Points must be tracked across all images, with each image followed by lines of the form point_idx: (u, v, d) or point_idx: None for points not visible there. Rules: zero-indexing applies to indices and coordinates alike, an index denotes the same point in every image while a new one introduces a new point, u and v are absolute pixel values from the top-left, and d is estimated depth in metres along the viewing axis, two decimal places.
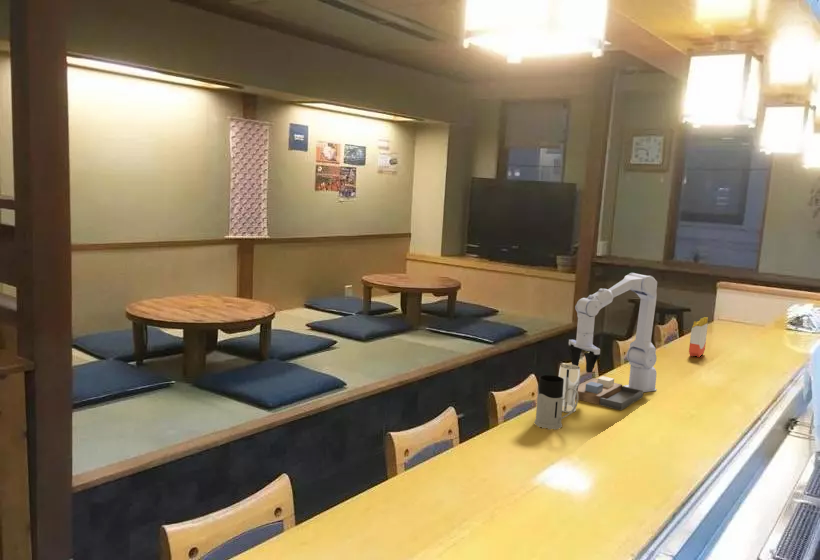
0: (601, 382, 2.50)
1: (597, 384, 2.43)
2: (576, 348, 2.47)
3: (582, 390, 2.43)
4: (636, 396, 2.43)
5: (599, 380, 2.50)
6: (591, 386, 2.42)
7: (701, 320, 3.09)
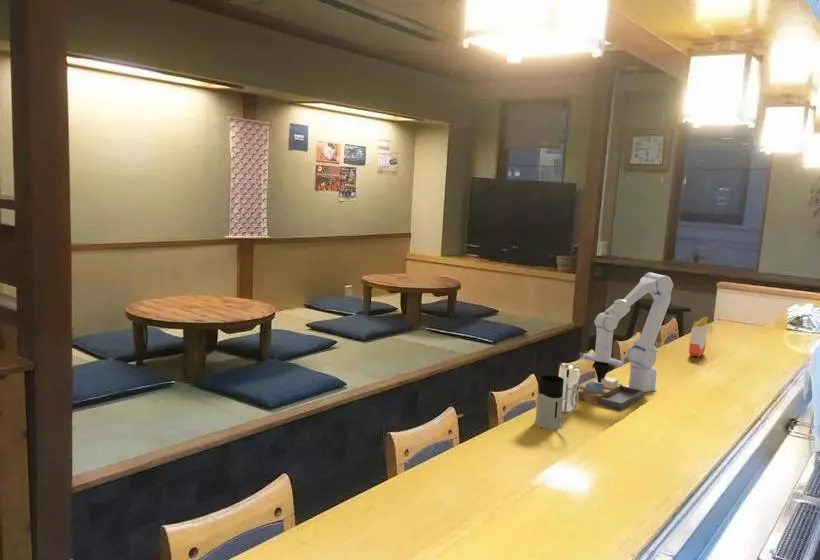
0: (605, 383, 2.49)
1: (597, 384, 2.43)
2: None
3: (582, 390, 2.43)
4: (636, 396, 2.43)
5: (603, 381, 2.49)
6: (591, 386, 2.42)
7: (701, 320, 3.09)
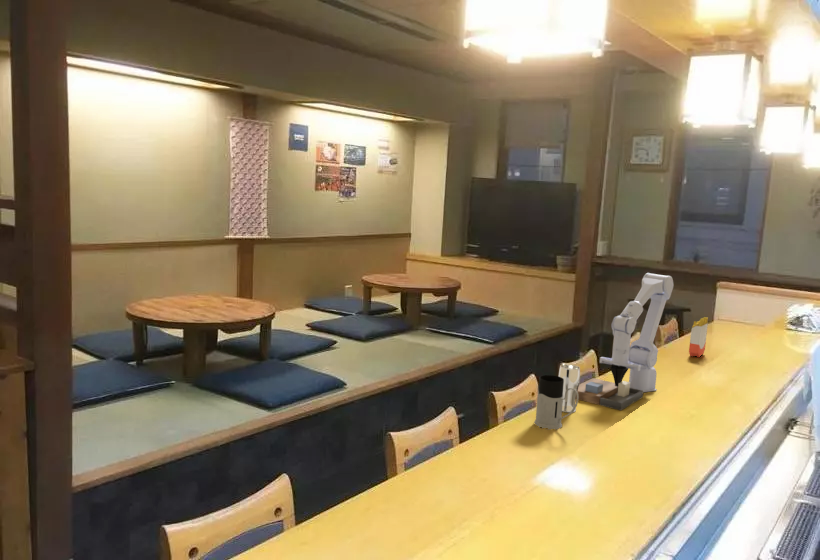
0: (621, 388, 2.45)
1: (597, 384, 2.43)
2: (618, 367, 2.47)
3: (582, 390, 2.43)
4: (636, 396, 2.43)
5: (623, 386, 2.44)
6: (591, 386, 2.42)
7: (701, 320, 3.09)
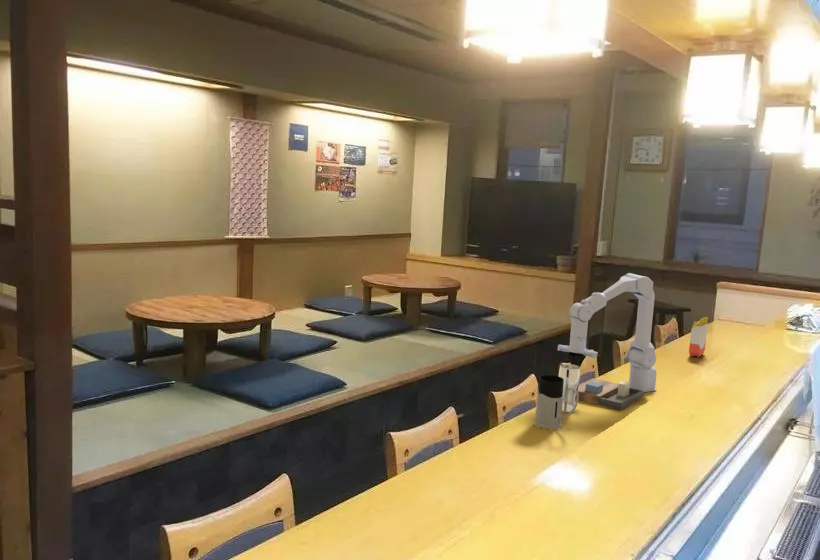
0: (621, 388, 2.45)
1: (597, 384, 2.43)
2: (576, 355, 2.47)
3: (582, 390, 2.43)
4: (636, 396, 2.43)
5: (623, 386, 2.44)
6: (591, 386, 2.42)
7: (701, 320, 3.09)
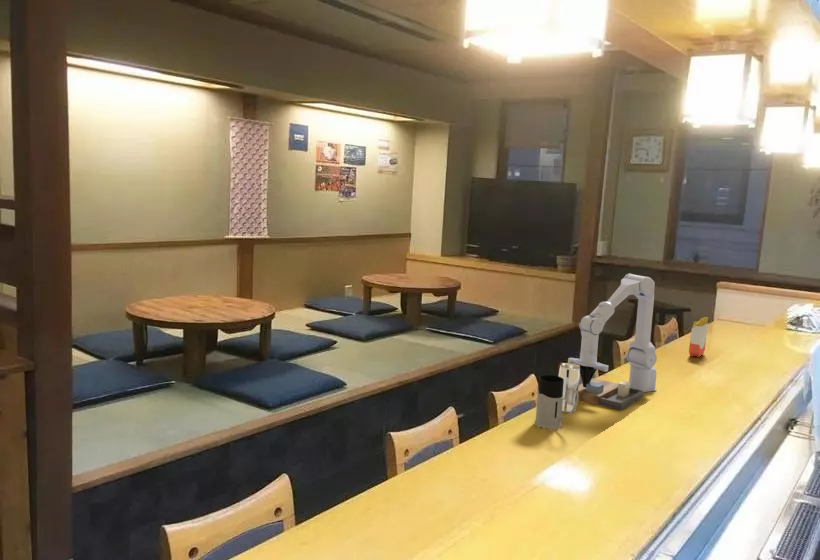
0: (621, 388, 2.45)
1: (598, 384, 2.43)
2: None
3: (582, 390, 2.43)
4: (636, 396, 2.43)
5: (623, 386, 2.44)
6: (592, 386, 2.41)
7: (701, 320, 3.09)
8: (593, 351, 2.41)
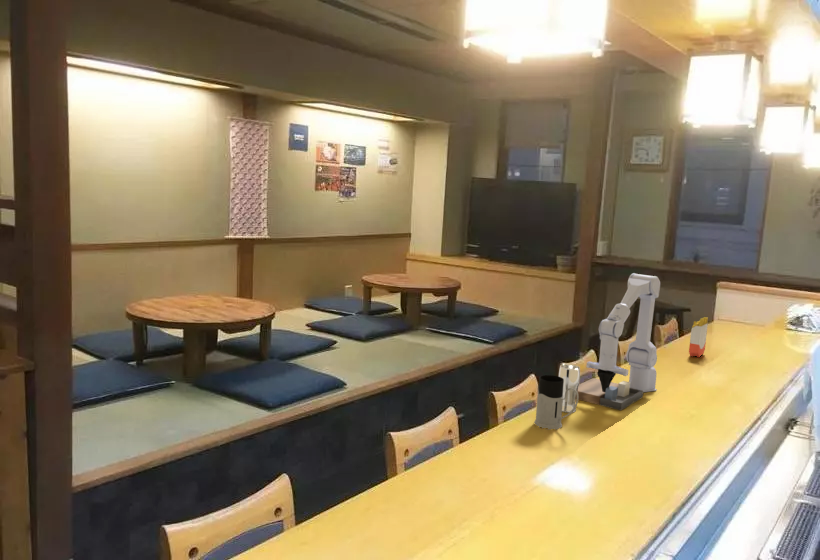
0: (621, 388, 2.45)
1: (614, 397, 2.39)
2: (606, 372, 2.40)
3: (582, 390, 2.43)
4: (636, 396, 2.43)
5: (623, 386, 2.44)
6: (610, 396, 2.37)
7: (701, 320, 3.09)
8: (613, 355, 2.36)
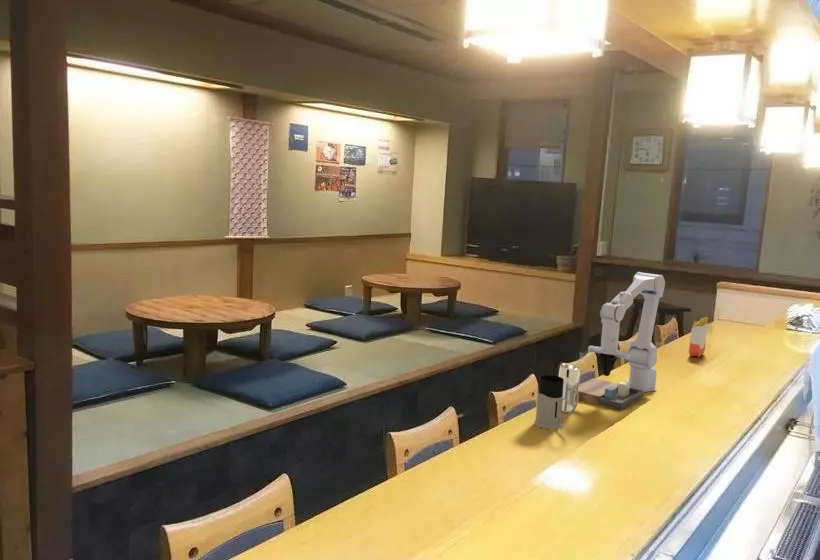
0: (621, 388, 2.45)
1: (614, 397, 2.39)
2: (607, 356, 2.40)
3: (582, 390, 2.43)
4: (636, 396, 2.43)
5: (623, 386, 2.44)
6: (610, 396, 2.37)
7: (701, 320, 3.09)
8: (614, 339, 2.37)
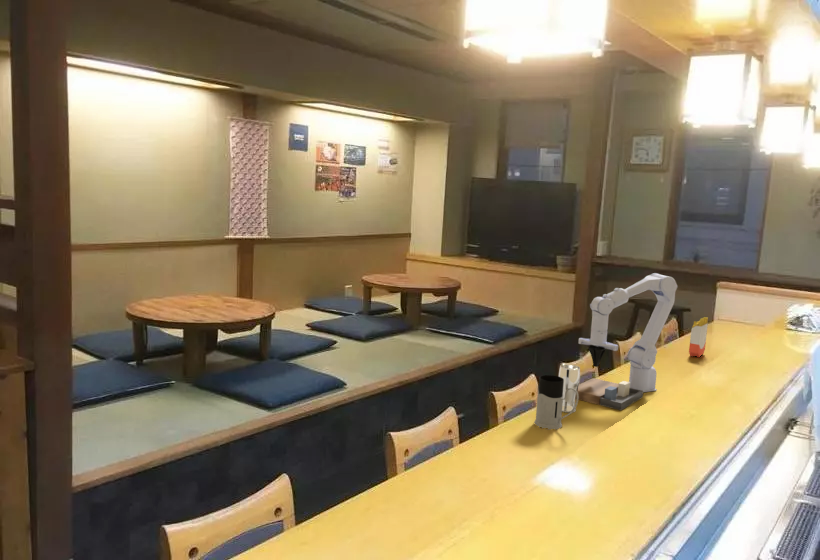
0: (621, 388, 2.45)
1: (614, 397, 2.39)
2: (596, 348, 2.52)
3: (582, 390, 2.43)
4: (636, 396, 2.43)
5: (623, 386, 2.44)
6: (610, 396, 2.37)
7: (701, 320, 3.09)
8: (603, 331, 2.48)
